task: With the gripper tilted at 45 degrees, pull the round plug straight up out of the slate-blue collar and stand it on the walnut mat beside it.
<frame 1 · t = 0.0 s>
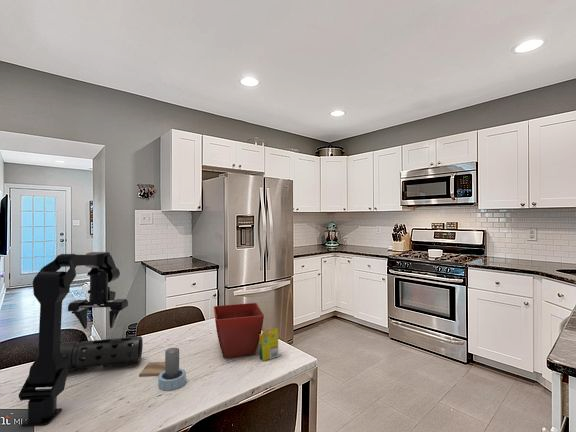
hand: (98, 328, 112), 15 cm above the table, tool pointing down, fingers open, 9 cm apart
plant pot: (237, 350, 128), on the table
collar: (172, 383, 102), on the table
mat: (156, 369, 111), on the table
crayon box: (268, 358, 121), on the table
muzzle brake: (99, 368, 113), on the table
plug: (172, 367, 102), in the collar
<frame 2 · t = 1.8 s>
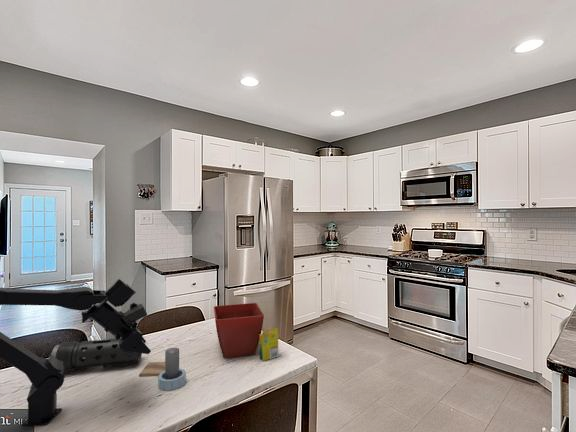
hand: (147, 347, 99), 13 cm above the table, tool tilted 45°, fingers open, 9 cm apart
nothing on the table moved.
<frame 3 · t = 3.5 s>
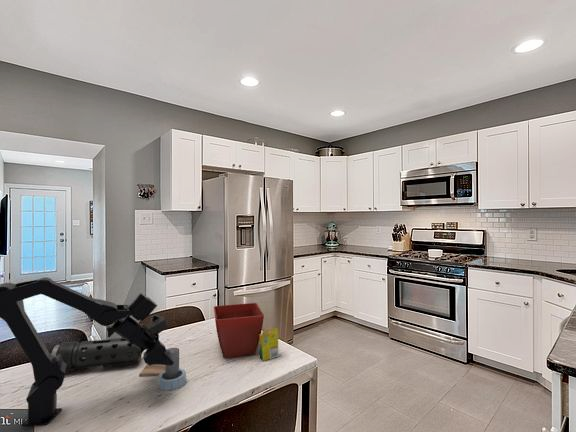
hand: (169, 358, 102), 9 cm above the table, tool tilted 45°, fingers open, 9 cm apart
nothing on the table moved.
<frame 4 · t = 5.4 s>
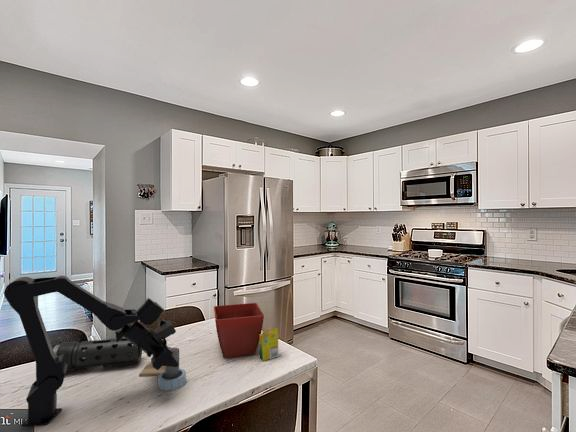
hand: (176, 362, 103), 7 cm above the table, tool tilted 45°, fingers closed on plug, 4 cm apart
plug: (172, 366, 102), in the collar, touching gripper
everything else where it was.
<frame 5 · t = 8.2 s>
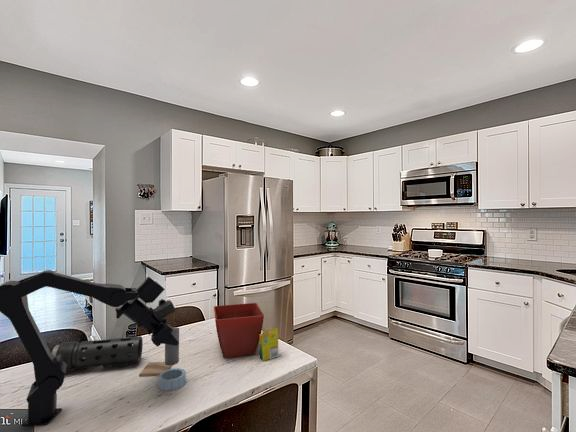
hand: (176, 341, 103), 13 cm above the table, tool tilted 45°, fingers closed on plug, 4 cm apart
plug: (172, 345, 102), point 12 cm above the table, touching gripper
everything else where it was.
when the fingers open (9 cm above the table, at t = 11.2 s): plug drops 1 cm, resting on mat.
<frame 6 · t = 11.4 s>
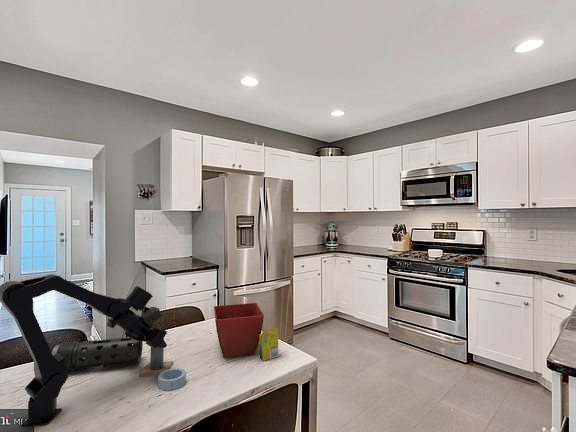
hand: (160, 344, 112), 9 cm above the table, tool tilted 45°, fingers open, 7 cm apart
plug: (157, 352, 111), on the mat, point 6 cm above the table
everything else where it was.
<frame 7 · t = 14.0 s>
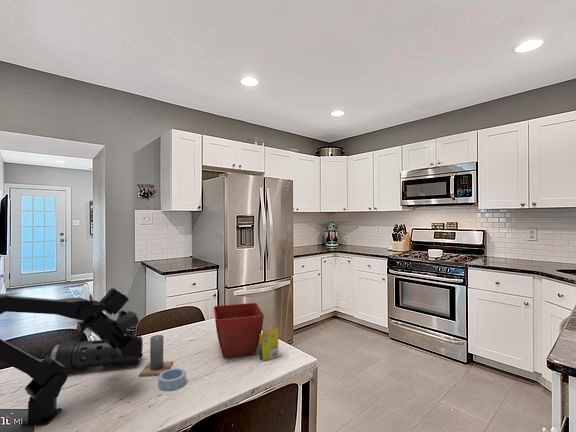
hand: (135, 352, 105), 9 cm above the table, tool tilted 40°, fingers open, 9 cm apart
nothing on the table moved.
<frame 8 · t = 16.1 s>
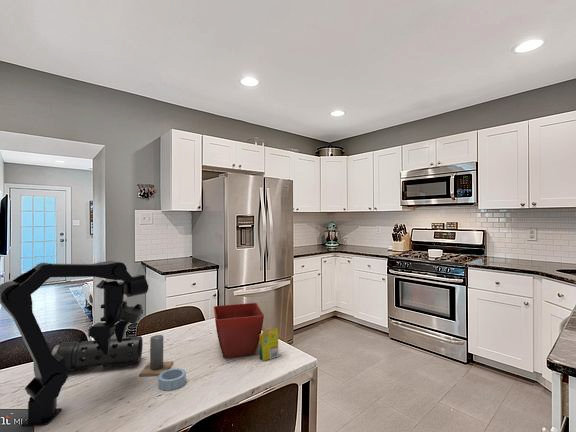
hand: (113, 348, 99), 13 cm above the table, tool pointing down, fingers open, 9 cm apart
nothing on the table moved.
at the end: plug inside the target area on the mat (0.1 cm from its centre), point 6.3 cm above the mat's base; plug tilted 0°; the gripper is holding nothing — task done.
